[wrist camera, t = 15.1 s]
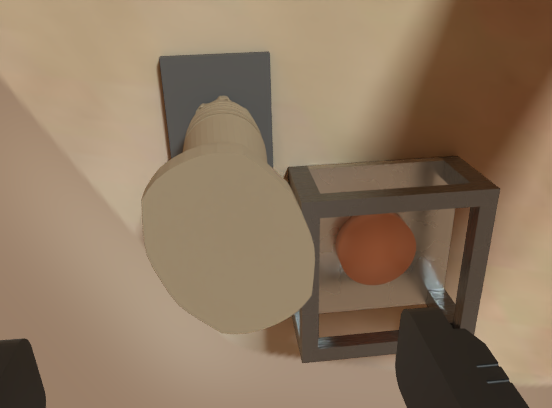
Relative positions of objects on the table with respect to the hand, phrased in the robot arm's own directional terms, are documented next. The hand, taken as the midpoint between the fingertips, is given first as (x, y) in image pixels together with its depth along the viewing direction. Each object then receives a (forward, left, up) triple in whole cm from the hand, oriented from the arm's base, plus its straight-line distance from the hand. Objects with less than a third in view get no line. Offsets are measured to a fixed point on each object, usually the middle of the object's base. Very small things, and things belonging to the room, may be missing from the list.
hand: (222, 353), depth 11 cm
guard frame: (+9, +10, -20) cm, 24 cm away
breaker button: (+9, +10, -20) cm, 24 cm away
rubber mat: (0, 0, -20) cm, 20 cm away
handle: (0, 0, -20) cm, 20 cm away
